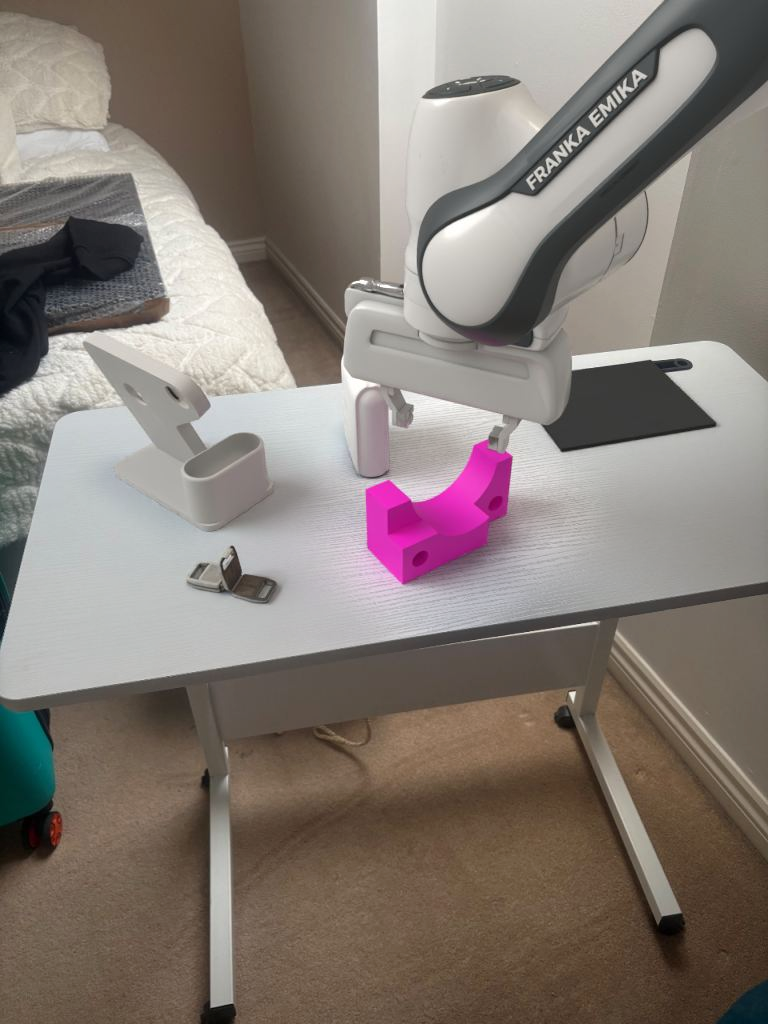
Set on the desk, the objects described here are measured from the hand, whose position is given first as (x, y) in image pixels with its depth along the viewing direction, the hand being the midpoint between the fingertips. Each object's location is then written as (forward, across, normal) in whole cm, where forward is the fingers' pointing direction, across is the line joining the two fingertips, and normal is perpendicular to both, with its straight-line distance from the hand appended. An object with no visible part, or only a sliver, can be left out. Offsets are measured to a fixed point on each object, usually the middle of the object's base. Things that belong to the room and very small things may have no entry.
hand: (449, 436), depth 77 cm
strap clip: (+13, -16, -15) cm, 25 cm away
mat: (+12, +9, +32) cm, 36 cm away
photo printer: (+13, -14, +10) cm, 21 cm away
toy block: (+13, 0, 0) cm, 13 cm away
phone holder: (+13, -29, -3) cm, 32 cm away
